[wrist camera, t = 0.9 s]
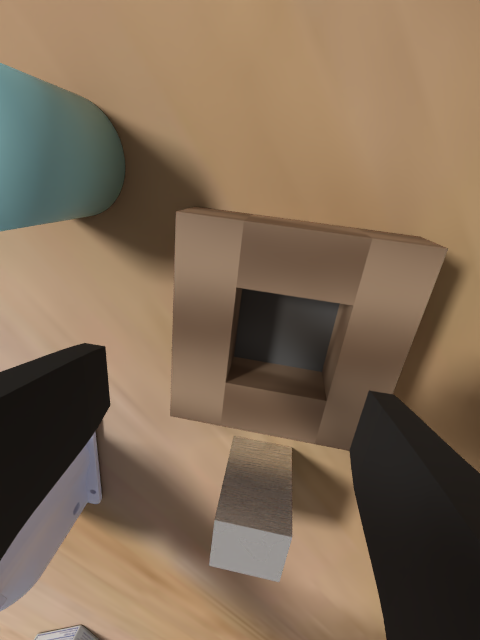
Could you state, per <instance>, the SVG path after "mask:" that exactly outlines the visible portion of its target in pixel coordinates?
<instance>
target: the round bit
mask: <svg viewBox="0 0 480 640" xmlns="http://www.w3.org/2000/svg"><path fill="white" fill-rule="evenodd" d="M124 177H125V158H124V152H123V148H122V144H121V141H120V139H119V136H118V134H117V132H116V130H115V128H114V126H113V125H112V123H111V122H110V120H109V119H108V117H107V116H106V115H105V114H104V113H103V112H102V111H101V110H100V109H99V108H98V107H97V106H96V105H95V104H93V103H92V102H90V101H89V100H87V99H85V98H84V97H82V96H79V95H77V94H75V93H72V92H70V91H67V90H65V89H62V88H60V87H58V86H55V85H53V84H50V83H48V82H45V81H43V80H41V79H38V78H36V77H33V76H31V75H28V74H26V73H24V72H21V71H19V70H16V69H14V68H12V67H9V66H7V65H4V64H2V63H0V231H5V230H11V229H17V228H23V227H29V226H35V225H41V224H46V223H52V222H58V221H64V220H70V219H76V218H82V217H88V216H93V215H97V214H99V213H102V212H103V211H105V210H106V209H108V208H109V207H110V206H111V205H112V204H113V203H114V202H115V200H116V199H117V197H118V196H119V194H120V191H121V189H122V186H123V182H124Z"/></svg>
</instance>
